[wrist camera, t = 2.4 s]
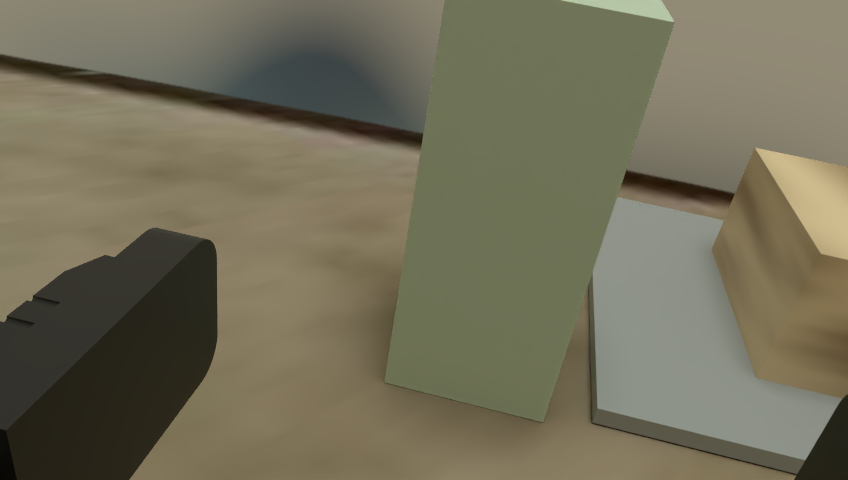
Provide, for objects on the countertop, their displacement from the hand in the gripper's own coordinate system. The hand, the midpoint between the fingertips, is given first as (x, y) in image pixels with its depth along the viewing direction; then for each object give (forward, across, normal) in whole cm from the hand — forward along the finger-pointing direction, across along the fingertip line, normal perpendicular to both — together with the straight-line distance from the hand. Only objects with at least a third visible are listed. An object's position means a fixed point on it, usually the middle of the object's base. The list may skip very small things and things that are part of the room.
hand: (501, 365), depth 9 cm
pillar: (+12, 0, +9) cm, 14 cm away
